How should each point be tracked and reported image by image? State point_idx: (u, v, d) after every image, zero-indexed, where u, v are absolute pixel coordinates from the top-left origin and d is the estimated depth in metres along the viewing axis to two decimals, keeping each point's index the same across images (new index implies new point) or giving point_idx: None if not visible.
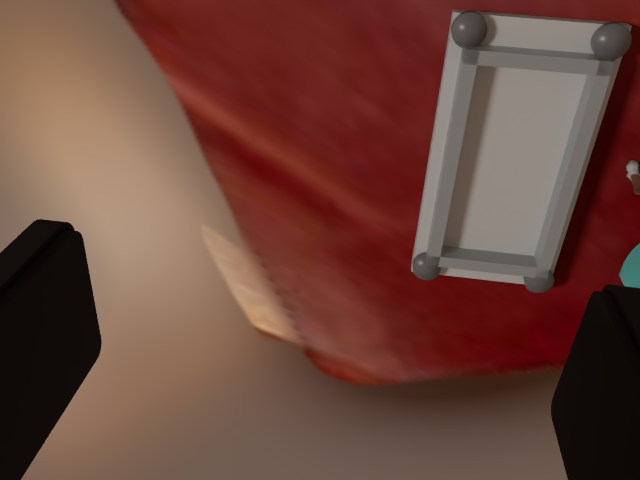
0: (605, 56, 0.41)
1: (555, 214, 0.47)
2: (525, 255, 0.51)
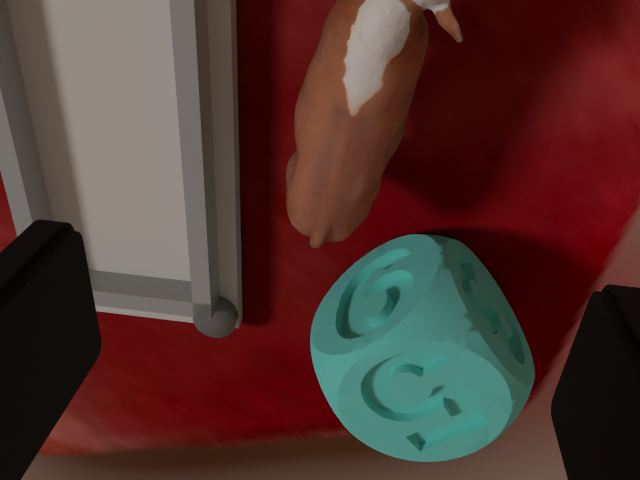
0: None
1: (188, 220, 0.29)
2: (189, 281, 0.33)
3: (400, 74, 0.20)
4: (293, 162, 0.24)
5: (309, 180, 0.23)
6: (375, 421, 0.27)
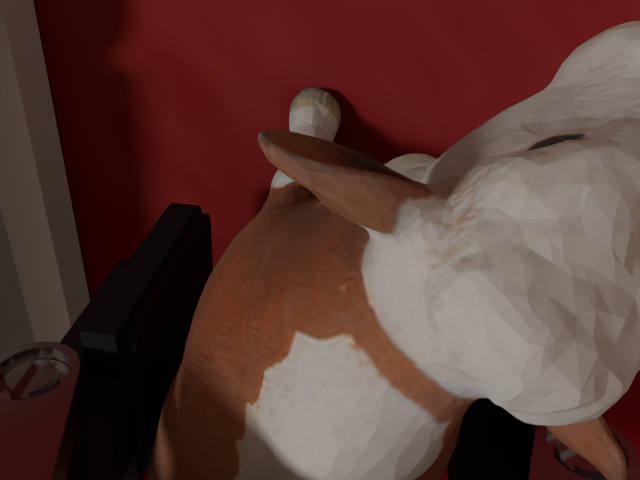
0: None
1: None
2: None
3: None
4: None
5: None
6: None
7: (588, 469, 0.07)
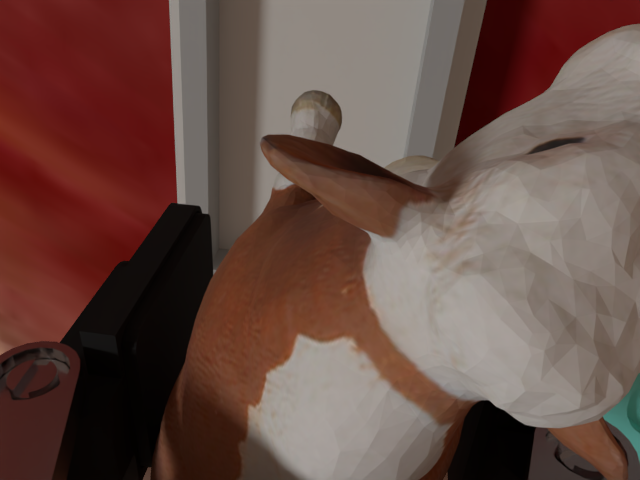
0: None
1: None
2: None
3: None
4: None
5: None
6: (632, 440, 0.23)
7: (588, 468, 0.07)
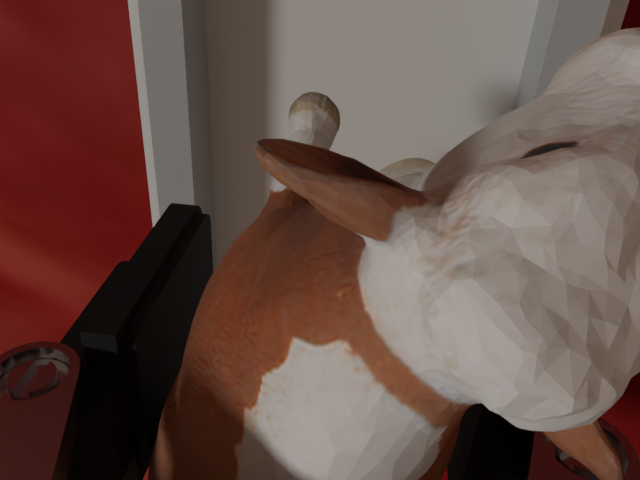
0: None
1: None
2: None
3: None
4: None
5: None
6: None
7: None
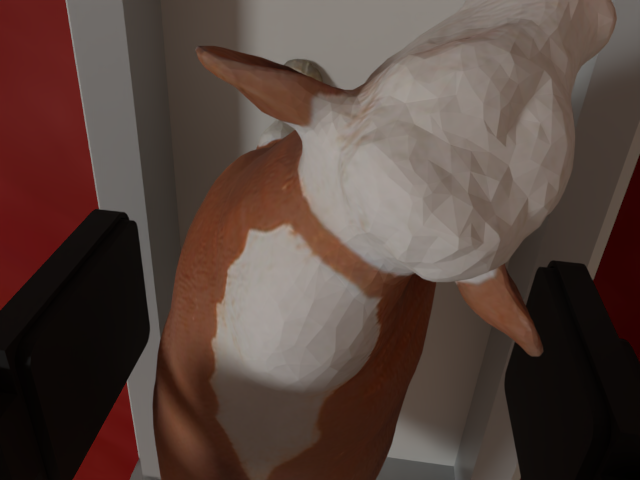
0: None
1: (502, 390, 0.14)
2: (430, 464, 0.18)
3: (366, 405, 0.07)
4: None
5: None
6: None
7: None
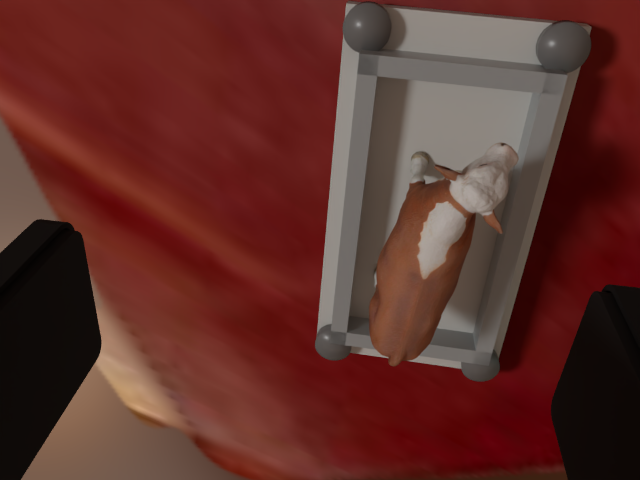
0: (555, 68, 0.29)
1: (495, 282, 0.34)
2: (461, 332, 0.38)
3: (458, 251, 0.28)
4: (375, 303, 0.32)
5: (390, 320, 0.30)
6: None
7: None
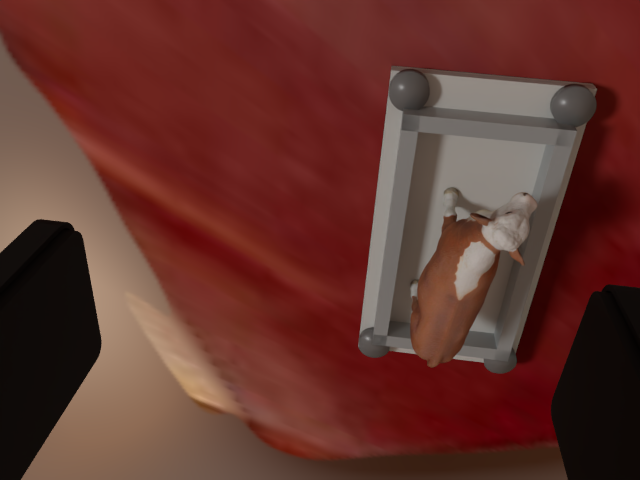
0: (566, 122, 0.35)
1: (514, 294, 0.41)
2: (484, 332, 0.45)
3: (487, 279, 0.34)
4: (416, 317, 0.38)
5: (429, 331, 0.37)
6: None
7: None
